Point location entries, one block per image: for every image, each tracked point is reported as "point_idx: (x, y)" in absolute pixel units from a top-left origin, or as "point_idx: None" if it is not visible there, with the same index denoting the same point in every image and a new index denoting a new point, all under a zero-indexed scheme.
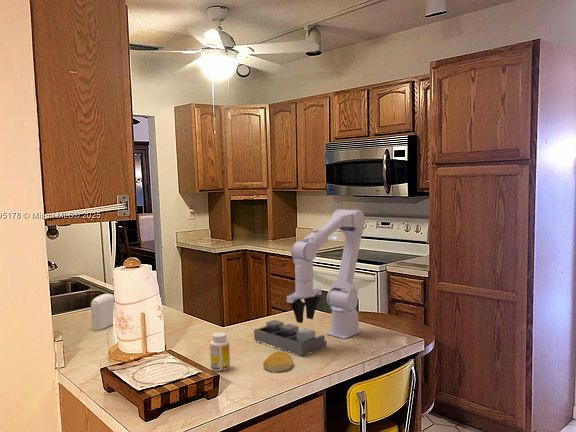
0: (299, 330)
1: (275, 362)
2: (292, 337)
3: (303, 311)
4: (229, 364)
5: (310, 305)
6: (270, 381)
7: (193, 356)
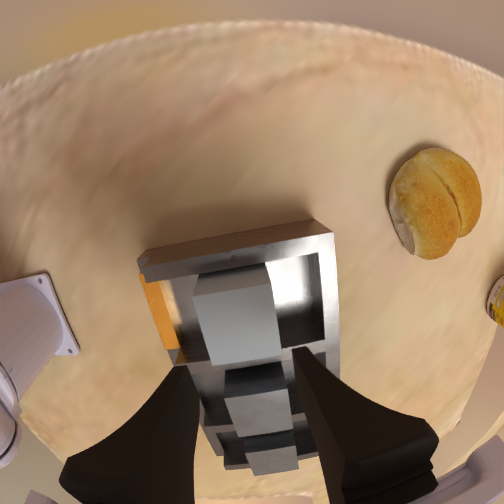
0: (262, 353)
1: (476, 175)
2: (292, 344)
3: (318, 400)
4: (500, 285)
5: (172, 459)
6: (487, 132)
7: (471, 383)
